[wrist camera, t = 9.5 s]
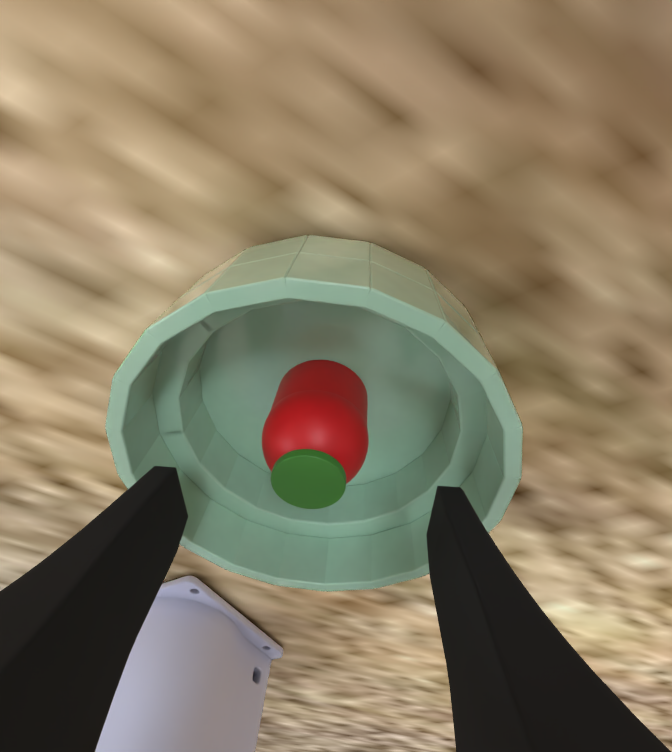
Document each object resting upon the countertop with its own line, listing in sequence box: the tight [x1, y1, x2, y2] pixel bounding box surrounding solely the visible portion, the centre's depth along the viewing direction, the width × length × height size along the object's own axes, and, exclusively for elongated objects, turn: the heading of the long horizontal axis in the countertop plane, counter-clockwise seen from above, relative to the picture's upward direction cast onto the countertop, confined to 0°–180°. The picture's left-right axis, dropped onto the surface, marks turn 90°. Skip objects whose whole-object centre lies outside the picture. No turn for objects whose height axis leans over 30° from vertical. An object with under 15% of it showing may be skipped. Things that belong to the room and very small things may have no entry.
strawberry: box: [262, 360, 369, 509], centre depth 14 cm, size 4×4×4 cm
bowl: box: [105, 235, 523, 592], centre depth 14 cm, size 12×12×4 cm
